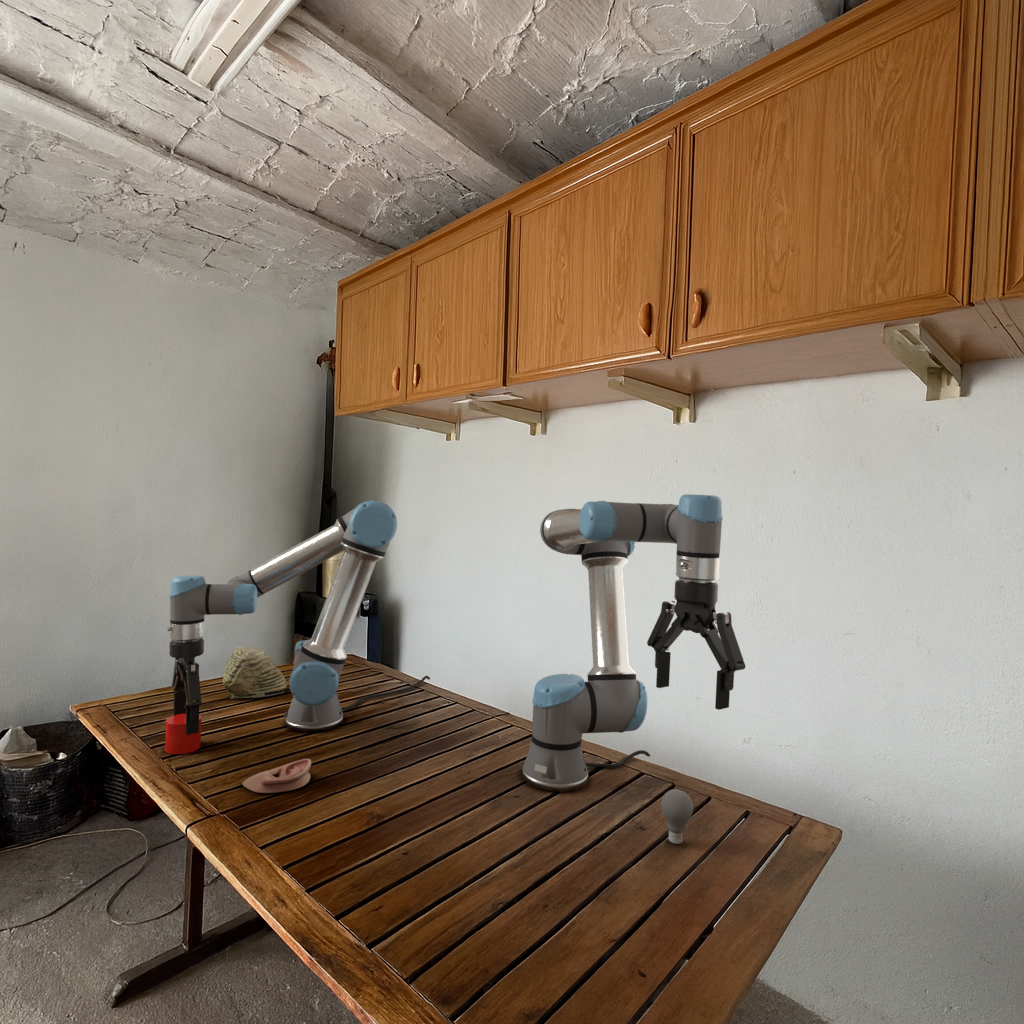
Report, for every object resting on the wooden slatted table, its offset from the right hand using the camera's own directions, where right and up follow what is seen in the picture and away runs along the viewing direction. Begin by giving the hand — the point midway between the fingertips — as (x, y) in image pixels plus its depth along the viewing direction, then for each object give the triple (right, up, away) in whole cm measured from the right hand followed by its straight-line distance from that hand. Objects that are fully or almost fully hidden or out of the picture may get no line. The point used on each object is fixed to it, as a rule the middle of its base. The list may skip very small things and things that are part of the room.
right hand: (690, 697), depth 115 cm
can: (-113, -25, +41) cm, 123 cm away
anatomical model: (-84, -26, +25) cm, 91 cm away
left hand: (-113, -19, +41) cm, 121 cm away
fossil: (-113, -24, +83) cm, 142 cm away
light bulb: (-1, -30, +7) cm, 31 cm away
